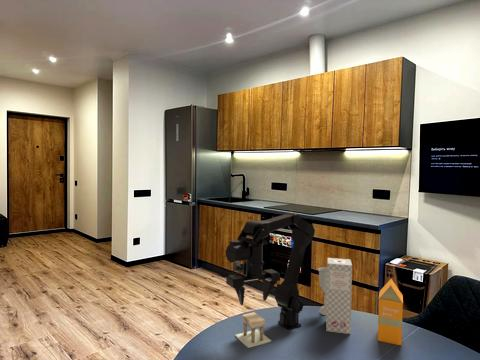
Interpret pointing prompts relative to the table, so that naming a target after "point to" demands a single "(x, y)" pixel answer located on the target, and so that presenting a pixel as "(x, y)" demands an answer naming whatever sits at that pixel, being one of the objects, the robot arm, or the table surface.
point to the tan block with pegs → (253, 324)
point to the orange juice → (390, 314)
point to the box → (339, 295)
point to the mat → (247, 339)
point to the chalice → (323, 287)
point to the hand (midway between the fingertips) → (253, 302)
